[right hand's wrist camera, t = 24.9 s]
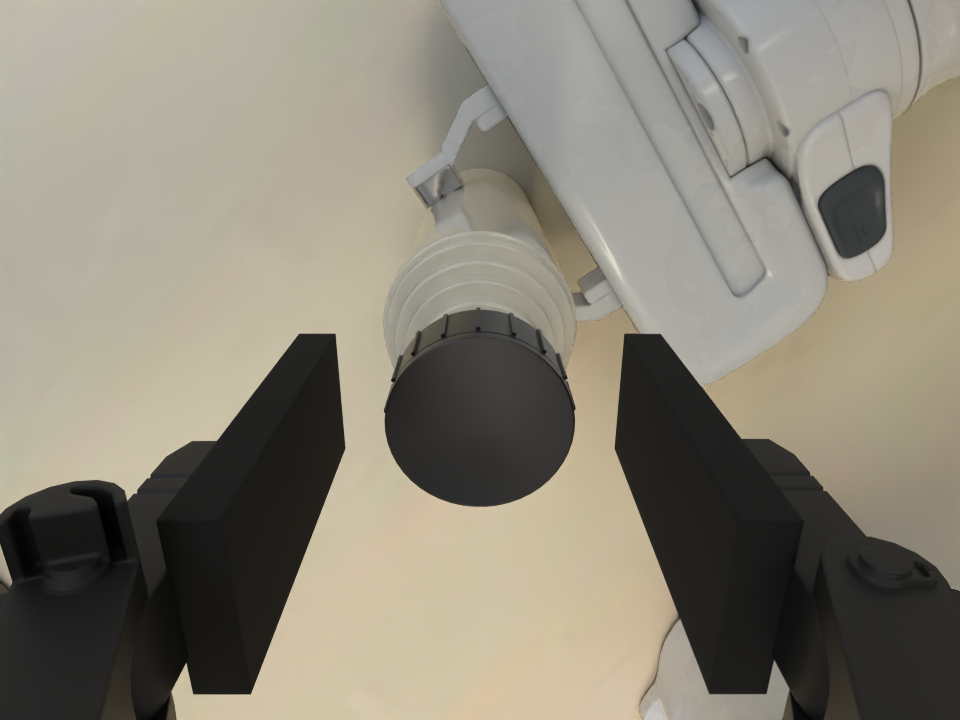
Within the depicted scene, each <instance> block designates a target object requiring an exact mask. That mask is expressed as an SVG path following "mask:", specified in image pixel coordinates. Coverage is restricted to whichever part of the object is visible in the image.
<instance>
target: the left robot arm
mask: <svg viewBox="0 0 960 720" xmlns="http://www.w3.org/2000/svg"><path fill="white" fill-rule="evenodd" d="M437 2H438V3H439V5H440V7H441V8H442V10H443V12H444V13H445V15H446V17H447V18H448V20H449V22H450V23H451V25H452V27H453V28H454V30H455V32H456V33H457V35H458V36H459V38H460V40H461V41H462V43H463V45H464V46H465V48H466V50H467V51H468V53H469V55H470V56H471V58H472V60H473V61H474V63H475V65H476V66H477V68H478V69H479V71H480V73H481V74H482V76H483V78H484V79H485V81H486V83H487V85H485V86H484V87H483V88H481V89H480V90H478V91H477V92H476V93H474V94H473V95H471V96H470V97H469V98H467V99H466V100H464V101H463V102H462V104H461V106H460V108H459V110H458V112H457V115H456V117H455V119H454V121H453V123H452V125H451V128H450V130H449V132H448V134H447V136H446V138H445V141H444V143H443V145H442V147H441V149H440V151H441V152H440V153H439V154H437V155H436V156H435V157H433V158H432V159H430V160H429V161H427V162H426V163H425V164H423V165H422V166H420V167H419V168H417V169H416V170H415V171H413V172H412V173H411V174H410V175H408V176H407V177H406V180H407V182H408V183H409V185H410V186H411V188H412V189H413V190H414V192H415V193H416V195H417V196H418V197H419V199H420V200H421V202H422V203H423V205H424V206H425V207H426V209H428V208H429V207H431V206H433V205H434V204H435V203H436V202H437V201H439V200H440V198H441V195H447V194H449V193H451V192H453V191H455V190H456V189H458V188H459V187H461V186H462V182H463V179H462V178H461V176H460V175H459V173H458V171H457V170H456V168H455V167H454V165H453V164H454V161H455V159H456V157H457V155H458V153H459V151H460V149H461V147H462V144H463V142H464V140H465V138H466V136H467V134H468V132H469V129H470V127H471V125H472V123H473V121H474V120H476V119H477V121H476V124H477V125H478V127H479V129H480V130H481V132H486V131H488V130H489V129H491V128H492V127H494V126H495V125H497V124H498V123H500V122H501V121H503V120H504V119H506V118H507V117H508V119H509V121H510V122H511V124H512V126H513V127H514V129H515V130H516V132H517V134H518V135H519V137H520V139H521V140H522V142H523V144H524V145H525V147H526V149H527V150H528V152H529V154H530V155H531V157H532V159H533V160H534V162H535V163H536V165H537V167H538V168H539V170H540V172H541V173H542V175H543V177H544V178H545V180H546V182H547V183H548V185H549V187H550V188H551V190H552V191H553V193H554V195H555V196H556V198H557V200H558V201H559V203H560V205H561V206H562V208H563V210H564V211H565V213H566V215H567V216H568V218H569V220H570V221H571V223H572V224H573V226H574V228H575V229H576V231H577V233H578V234H579V236H580V238H581V239H582V241H583V243H584V244H585V246H586V248H587V249H588V251H589V253H590V254H591V256H592V257H593V259H594V261H595V262H596V264H597V266H598V267H597V268H596V269H594V270H593V271H591V272H590V273H588V274H587V275H585V276H583V277H582V278H580V279H579V280H578V282H577V283H578V285H579V287H580V289H581V291H582V292H579V293H571V294H572V296H573V300H574V304H575V309H576V319H577V321H598V320H600V319H602V318H603V317H605V316H607V315H608V314H610V313H612V312H614V311H615V310H617V309H619V308H620V307H623V309H624V310H625V312H626V314H627V315H628V317H629V318H630V320H631V322H632V323H633V325H634V327H635V328H636V330H637V332H638V333H639V334H661V335H662V336H663V337H664V339H665V340H666V341H667V343H668V344H669V345H670V346H671V348H672V349H673V350H674V352H675V353H676V354H677V356H678V357H679V358H680V360H681V361H682V362H683V363H684V365H685V366H686V367H687V369H688V370H689V371H690V373H691V374H692V375H693V377H694V378H695V379H696V380H697V382H698V383H699V384H700V386H701V387H703V386H706V385H709V384H711V383H713V382H715V381H717V380H719V379H721V378H723V377H725V376H726V375H728V374H730V373H732V372H733V371H735V370H737V369H738V368H740V367H742V366H743V365H745V364H747V363H748V362H750V361H752V360H753V359H755V358H756V357H758V356H759V355H761V354H762V353H764V352H766V351H767V350H769V349H770V348H772V347H773V346H775V345H776V344H777V343H779V342H780V341H782V340H783V339H785V338H786V337H787V336H789V335H790V334H792V333H793V332H794V331H796V330H797V329H798V328H799V327H801V326H802V325H803V324H804V323H805V322H806V321H807V320H808V319H809V318H811V316H812V315H813V314H814V313H815V312H816V310H817V309H818V308H819V306H820V304H821V303H822V301H823V299H824V297H825V294H826V290H827V285H828V275H829V276H831V277H833V278H837V279H840V280H843V281H846V282H856V281H860V280H862V279H865V278H867V277H869V276H871V275H873V274H874V273H876V272H878V271H879V270H881V269H882V268H883V267H884V266H886V265H887V264H888V262H889V261H890V259H891V257H892V254H893V248H894V232H893V214H892V190H891V148H892V131H893V119H895V118H896V117H898V116H900V115H901V114H903V113H904V112H905V111H907V110H908V109H909V108H910V107H911V106H912V105H913V104H914V103H915V102H916V101H918V100H919V99H920V98H921V97H922V96H923V95H924V94H926V93H927V92H928V91H930V90H931V89H932V88H934V87H935V86H937V85H939V84H941V83H942V82H944V81H947V80H950V79H953V78H957V77H960V0H437ZM788 692H789V687H788V685H787V683H786V681H785V680H784V678H783V676H782V674H781V672H780V670H779V668H778V666H777V664H776V662H775V660H774V663H773V667H772V672H771V676H770V681H769V686H768V690H767V694H709V692H708V690H707V687H706V685H705V682H704V679H703V677H702V674H701V672H700V669H699V666H698V664H697V661H696V659H695V656H694V653H693V651H692V648H691V646H690V643H689V640H688V638H687V635H686V633H685V630H684V627H683V625H682V622H681V620H680V619H679V620H678V621H677V623H676V624H675V625H674V627H673V628H672V629H671V631H670V633H669V634H668V636H667V638H666V640H665V642H664V644H663V647H662V650H661V653H660V658H659V665H658V672H657V677H656V680H655V683H654V684H653V685H652V687H651V688H650V689H649V691H648V692H647V694H646V695H645V696H644V698H643V700H642V702H641V704H640V706H639V713H640V716H641V718H642V720H782V718H783V714H784V709H785V705H786V701H787V696H788Z"/></svg>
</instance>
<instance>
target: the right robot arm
mask: <svg viewBox="0 0 960 720" xmlns="http://www.w3.org/2000/svg"><path fill="white" fill-rule="evenodd" d="M344 450H345V439H344V428H343V416H342V404H341V393H340V381H339V369H338V358H337V346H336V334H299V335H298V336H297V337H296V339H295V340H294V341H293V343H292V344H291V345H290V346H289V348H288V349H287V350H286V352H285V353H284V354H283V356H282V357H281V358H280V360H279V361H278V362H277V363H276V365H275V366H274V367H273V369H272V370H271V371H270V373H269V374H268V375H267V377H266V378H265V379H264V380H263V382H262V383H261V384H260V386H259V387H258V388H257V390H256V391H255V392H254V393H253V395H252V396H251V397H250V399H249V400H248V401H247V403H246V404H245V405H244V407H243V408H242V409H241V410H240V412H239V413H238V414H237V416H236V417H235V418H234V420H233V421H232V422H231V423H230V425H229V426H228V427H227V429H226V430H225V431H224V433H223V434H222V435H221V437H220V438H219V439H218V440H217V441H192V442H190V443H188V444H187V445H185V446H183V447H182V448H180V449H178V450H177V451H175V452H173V453H172V454H170V455H168V456H167V457H166V458H165V459H164V460H163V461H162V462H161V463H160V465H159V466H158V467H157V468H156V469H155V470H154V471H153V473H152V474H151V477H150V478H147V479H146V481H145V482H144V483H143V484H142V485H141V486H140V487H139V489H138V490H137V494H133V495H132V497H131V498H130V499H129V500H128V501H127V499H126V495H125V491H124V490H123V489H122V488H120V487H119V486H118V485H116V484H115V483H110V482H105V481H100V480H90V481H74V482H70V483H66V484H61V485H57V486H52V487H49V488H46V489H44V490H41V491H39V492H36V493H34V494H31V495H29V496H26V497H24V498H23V499H21V500H19V501H18V502H16V503H15V504H13V505H11V506H10V507H8V508H6V509H5V510H4V511H3V512H2V513H1V514H0V545H1V548H2V551H3V554H4V557H5V560H6V563H7V566H8V569H9V572H10V575H11V578H12V582H13V583H12V585H11V587H10V589H9V591H8V590H7V589H6V588H5V587H4V586H3V585H2V584H1V583H0V720H176V712H175V705H174V701H173V696H172V692H171V691H172V689H173V687H174V685H175V683H176V681H177V679H178V677H179V675H180V674H181V672H182V670H183V668H184V666H185V664H186V663H187V667H188V672H189V676H190V681H191V686H192V690H193V694H251V692H252V690H253V687H254V685H255V682H256V679H257V677H258V674H259V672H260V669H261V666H262V664H263V661H264V659H265V656H266V653H267V651H268V648H269V646H270V643H271V640H272V638H273V635H274V633H275V630H276V627H277V625H278V622H279V620H280V617H281V614H282V612H283V609H284V607H285V604H286V601H287V599H288V596H289V594H290V591H291V588H292V586H293V583H294V581H295V578H296V575H297V573H298V570H299V568H300V565H301V562H302V560H303V557H304V555H305V552H306V549H307V547H308V544H309V542H310V539H311V536H312V534H313V531H314V529H315V526H316V523H317V521H318V518H319V516H320V513H321V510H322V508H323V505H324V503H325V500H326V497H327V495H328V492H329V490H330V487H331V484H332V482H333V479H334V477H335V474H336V471H337V469H338V466H339V463H340V461H341V458H342V456H343V453H344ZM615 450H616V453H617V456H618V458H619V461H620V463H621V466H622V469H623V471H624V474H625V477H626V479H627V482H628V484H629V487H630V490H631V492H632V495H633V497H634V500H635V503H636V505H637V508H638V510H639V513H640V516H641V518H642V521H643V523H644V526H645V529H646V531H647V534H648V536H649V539H650V542H651V544H652V547H653V549H654V552H655V555H656V557H657V560H658V562H659V565H660V568H661V570H662V573H663V575H664V578H665V581H666V583H667V586H668V588H669V591H670V594H671V596H672V599H673V601H674V604H675V607H676V609H677V612H678V614H679V617H680V620H681V622H682V625H683V627H684V630H685V633H686V635H687V638H688V640H689V643H690V646H691V648H692V651H693V653H694V656H695V659H696V661H697V664H698V666H699V669H700V672H701V674H702V677H703V679H704V682H705V685H706V687H707V690H708V692H709V694H767V690H768V686H769V681H770V676H771V672H772V667H773V663H774V660H775V662H776V664H777V666H778V668H779V670H780V672H781V674H782V676H783V678H784V680H785V681H786V683H787V685H788V687H789V692H788V696H787V701H786V705H785V709H784V714H783V718H782V720H960V591H958V590H954V589H951V588H950V586H949V584H948V582H947V580H946V579H945V578H944V577H943V575H942V574H941V573H940V572H939V570H938V569H937V568H936V567H935V566H934V565H932V564H931V563H930V562H928V561H927V560H925V559H924V558H922V557H921V556H920V555H918V554H917V553H915V552H913V551H910V550H908V549H906V548H904V547H902V546H899V545H897V544H895V543H892V542H888V541H884V540H880V539H877V538H873V537H866V536H865V534H864V533H863V532H862V531H861V530H860V529H859V528H858V526H857V525H856V524H855V523H854V522H853V521H852V520H851V518H850V517H849V516H848V515H847V514H846V513H845V512H844V511H843V509H842V508H841V507H840V506H839V505H838V504H837V503H836V501H835V500H834V499H833V498H832V497H831V496H830V495H829V494H828V492H827V491H823V487H822V486H821V484H820V483H819V482H818V481H817V480H816V479H815V478H814V476H810V472H809V471H808V470H807V469H806V467H805V466H804V465H803V464H802V463H801V462H800V461H799V459H798V458H797V457H796V456H795V455H794V454H792V453H791V452H789V451H787V450H786V449H784V448H782V447H781V446H779V445H777V444H776V443H774V442H772V441H771V440H769V439H741V438H740V437H739V435H738V434H737V433H736V431H735V430H734V429H733V427H732V426H731V425H730V423H729V422H728V421H727V420H726V418H725V417H724V416H723V414H722V413H721V412H720V410H719V409H718V408H717V407H716V405H715V404H714V403H713V401H712V400H711V399H710V397H709V396H708V395H707V393H706V392H705V391H704V390H703V388H702V387H701V386H700V384H699V383H698V382H697V380H696V379H695V378H694V377H693V375H692V374H691V373H690V371H689V370H688V369H687V367H686V366H685V365H684V363H683V362H682V361H681V360H680V358H679V357H678V356H677V354H676V353H675V352H674V350H673V349H672V348H671V346H670V345H669V344H668V343H667V341H666V340H665V339H664V337H663V336H662V335H661V334H624V346H623V358H622V369H621V381H620V393H619V404H618V416H617V428H616V439H615Z"/></svg>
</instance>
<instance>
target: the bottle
mask: <svg viewBox="0 0 960 720" xmlns="http://www.w3.org/2000/svg"><path fill="white" fill-rule="evenodd" d="M459 175H460V176H461V178H462V179H463V182H462V186H461V187H459V188H458V189H456V190H455V191H453V192H451V193H449V194H447V195H441V198H440V200H439V201H437V202H436V203H435V204H434V205H433V206H431V207H429V208H428V209H427V211H426V213H425V215H424V218H423V220H422V222H421V224H420V226H419V228H418V230H417V232H416V234H415V237H414V239H413V241H412V243H411V245H410V247H409V249H408V251H407V254H406V256H405V258H404V260H403V262H402V264H401V266H400V268H399V271H398V273H397V275H396V277H395V279H394V281H393V283H392V285H391V288H390V290H389V293H388V296H387V299H386V304H385V308H384V318H383V327H384V337H385V341H386V346H387V349H388V353H389V357H390V359H391V362H392V365H393V367H394V369H395V366H396V363H397V360H398V357H399V355H401V356H402V355H403V353H404V352H405V350H406V348H407V347H408V345H409V344H410V343H411V341H412V340H413V339H414V338H415V335H416V332H417V331H418V330H419V331H420V332H421V331H422V330H423V329H424V328H426V327H427V326H428V325H430V324H431V323H433V322H435V321H437V320H438V319H440V318H443V315H444V314H446V313H447V314H448V315H450V314H453V313H457V312H461V311H468V310H476V308H479V307H480V310H492V311H499V312H503V313H506V314H509V313H513V314H514V316H515V317H517V318H519V319H521V320H523V321H525V322H527V323H529V324H530V325H531V326H533V327H534V328H535V329H537V330H538V329H540V330H541V331H542V334H543V336H544V337H545V338H546V339H547V340H548V342H549V343H550V344H551V346H552V347H553V349H554V350H555V352H556V354H557V353H559V354H560V356H561V359H562V362H563V365H564V368H565V369H566V366H567V364H568V362H569V359H570V356H571V353H572V348H573V345H574V341H575V335H576V322H577V319H576V309H575V304H574V300H573V296H572V294H571V291H570V288H569V286H568V284H567V281H566V279H565V277H564V275H563V273H562V271H561V269H560V267H559V264H558V262H557V260H556V258H555V256H554V254H553V252H552V249H551V247H550V245H549V243H548V241H547V239H546V237H545V235H544V232H543V230H542V228H541V226H540V224H539V222H538V220H537V218H536V215H535V213H534V211H533V209H532V207H531V205H530V203H529V201H528V198H527V197H526V195H525V193H524V191H523V190H522V189H521V187H520V186H519V185H518V184H517V183H516V182H515V181H514V180H512V179H511V178H510V177H508V176H507V175H505V174H503V173H501V172H498V171H496V170H492V169H486V168H474V169H468V170H465V171H461V172H459Z"/></svg>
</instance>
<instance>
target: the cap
mask: <svg viewBox="0 0 960 720" xmlns="http://www.w3.org/2000/svg"><path fill="white" fill-rule="evenodd" d="M566 379H568V378H567V375H566V372H565V368H564V365H563V362H562V359H561V356H560V354H559V353H557V354H556V352H555V350H554V349H553V347H552V346H551V344H550V343H549V342H548V340H547V339H546V338H545V337H544V336H543V334H542V331H541V330H540V329H538V330H537V329H535V328H534V327H533V326H531V325H530V324H529V323H527V322H525V321H523V320H521V319H519V318H517V317H515V316H514V314H513V313H509V314H506V313H503V312H499V311H492V310H480V307H479V308H476V310H468V311H461V312H457V313H453V314H450V315H448V314H447V313H446V314H444V315H443V318H440V319H438V320H437V321H435V322H433V323H431V324H430V325H428V326H427V327H426V328H424V329H423V330H422V331H421V332H420V331H419V330H418V331H417V332H416V335H415V338H414V339H413V340H412V341H411V343H410V344H409V345H408V347H407V348H406V350H405V352H404V353H403V355H402V356H401V355H399V357H398V360H397V363H396V366H395V370H394V373H393V376H392V379H391V381H392V382H393V384H392V385H391V389H390V392H389V395H388V398H387V402H386V405H385V408H384V413H385V433H386V437H387V442H388V445H389V448H390V450H391V453H392V455H393V457H394V459H395V461H396V463H397V464H398V465H399V467H400V468H401V470H402V471H403V472H404V473H405V475H406V476H407V477H408V478H409V479H410V480H411V481H412V482H413V483H415V484H416V485H417V486H418V487H420V488H421V489H423V490H424V491H426V492H427V493H429V494H431V495H433V496H435V497H437V498H439V499H441V500H444V501H447V502H450V503H454V504H458V505H463V506H472V507H488V506H496V505H501V504H506V503H510V502H513V501H515V500H518V499H521V498H523V497H525V496H527V495H529V494H531V493H532V492H534V491H536V490H537V489H539V488H540V487H541V486H543V485H544V484H545V483H546V482H547V481H549V480H550V478H551V477H552V476H553V475H554V474H555V473H556V472H557V471H558V469H559V468H560V466H561V465H562V464H563V462H564V460H565V458H566V456H567V454H568V452H569V450H570V447H571V444H572V441H573V436H574V429H575V415H574V410H575V404H574V401H573V397H572V394H571V391H570V388H569V384H568V381H566Z"/></svg>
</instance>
